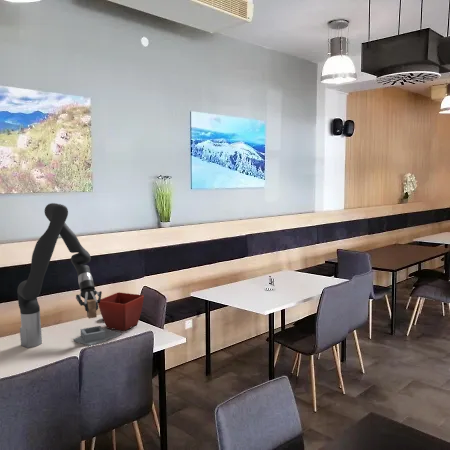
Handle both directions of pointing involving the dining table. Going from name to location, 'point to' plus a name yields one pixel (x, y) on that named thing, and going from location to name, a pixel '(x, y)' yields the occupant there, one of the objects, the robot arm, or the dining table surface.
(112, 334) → the well board
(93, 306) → the walnut post
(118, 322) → the plant pot
